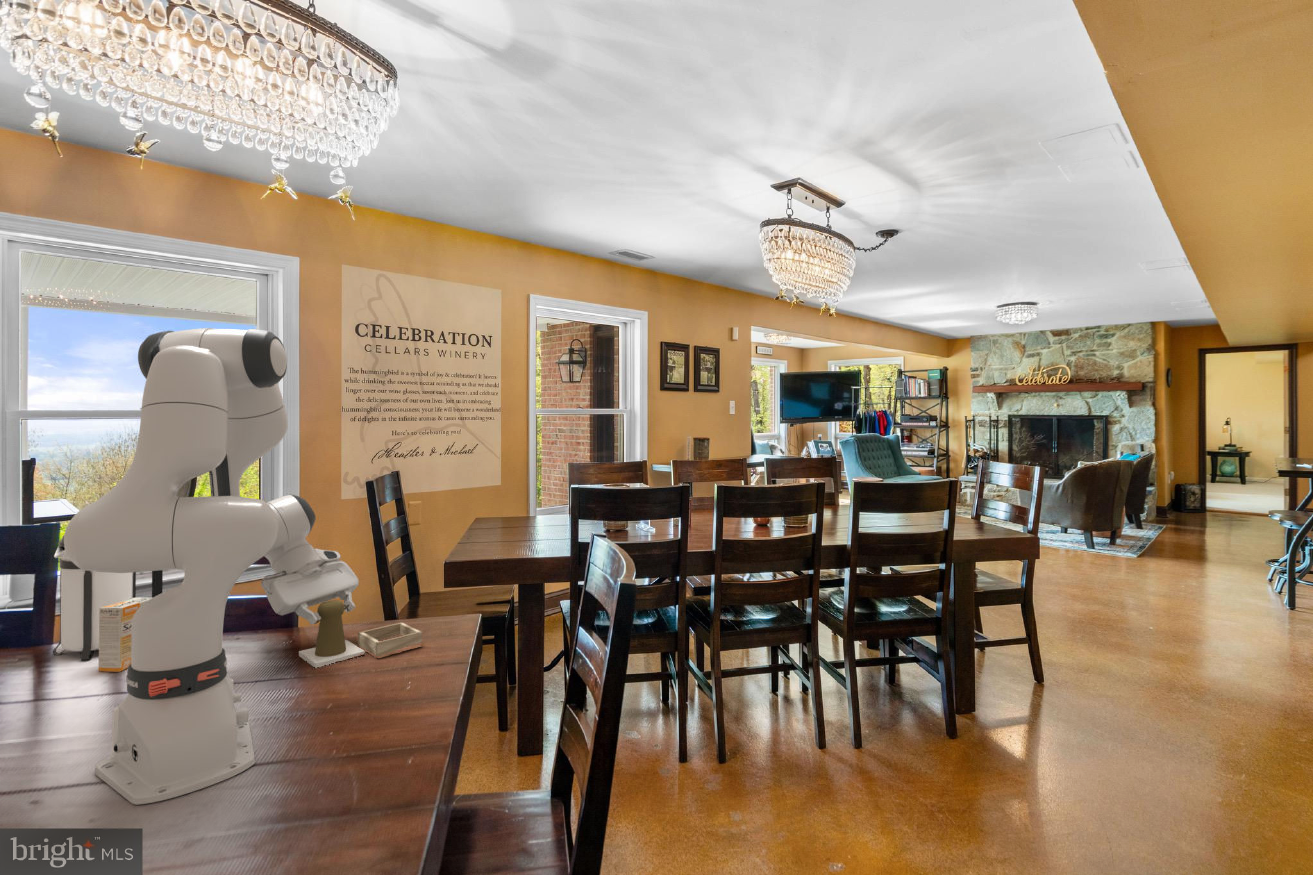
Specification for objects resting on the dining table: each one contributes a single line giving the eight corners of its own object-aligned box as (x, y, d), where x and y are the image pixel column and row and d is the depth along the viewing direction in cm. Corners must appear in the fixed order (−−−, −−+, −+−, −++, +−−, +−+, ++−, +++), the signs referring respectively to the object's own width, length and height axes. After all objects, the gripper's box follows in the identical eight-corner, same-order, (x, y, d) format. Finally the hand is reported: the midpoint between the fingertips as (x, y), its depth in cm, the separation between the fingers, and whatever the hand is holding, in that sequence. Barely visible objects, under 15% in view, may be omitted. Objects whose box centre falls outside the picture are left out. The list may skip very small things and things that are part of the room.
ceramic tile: (364, 655, 133) (364, 650, 133) (315, 668, 125) (315, 663, 125) (346, 644, 140) (346, 639, 140) (298, 655, 132) (298, 651, 132)
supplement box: (120, 672, 122) (121, 607, 122) (97, 672, 122) (97, 607, 122) (155, 657, 130) (155, 596, 130) (133, 656, 130) (134, 596, 130)
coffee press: (131, 656, 130) (132, 518, 130) (34, 666, 124) (35, 521, 124) (163, 631, 146) (164, 508, 146) (78, 639, 140) (79, 510, 140)
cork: (352, 647, 135) (352, 598, 135) (334, 657, 129) (335, 606, 129) (326, 646, 135) (327, 597, 135) (308, 655, 129) (308, 604, 129)
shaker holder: (421, 647, 138) (422, 631, 138) (377, 659, 131) (377, 643, 131) (401, 636, 145) (401, 622, 145) (358, 647, 138) (358, 632, 138)
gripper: (265, 568, 124) (302, 620, 122) (343, 550, 144) (376, 594, 141) (248, 587, 126) (284, 640, 123) (328, 567, 145) (361, 611, 142)
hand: (334, 615), depth 132 cm, fingers open, 8 cm apart
